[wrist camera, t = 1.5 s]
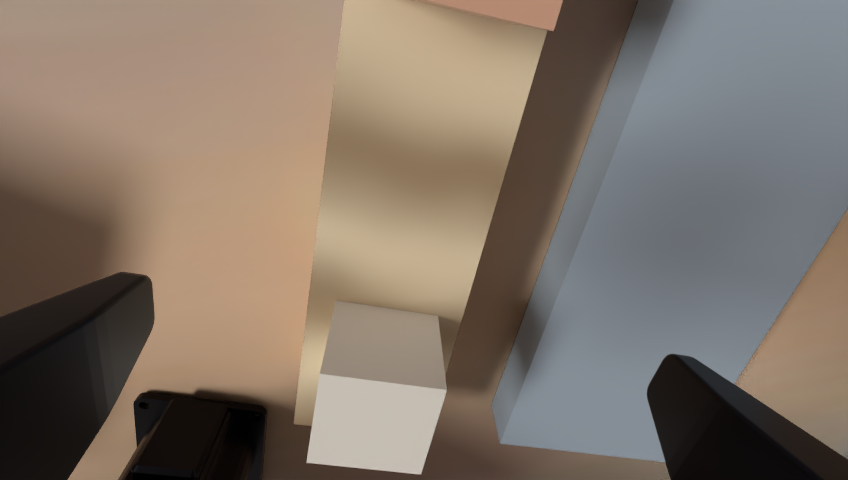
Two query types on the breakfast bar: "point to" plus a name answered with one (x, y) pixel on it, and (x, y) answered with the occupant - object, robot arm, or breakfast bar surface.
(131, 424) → the breakfast bar surface
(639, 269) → the dock
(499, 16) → the salmon pink cube
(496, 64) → the tan long bar
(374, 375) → the white cube
